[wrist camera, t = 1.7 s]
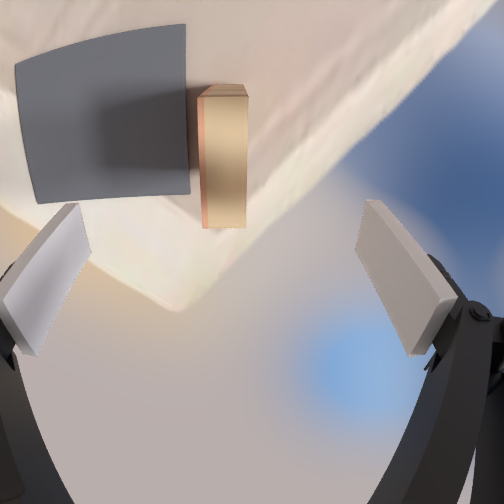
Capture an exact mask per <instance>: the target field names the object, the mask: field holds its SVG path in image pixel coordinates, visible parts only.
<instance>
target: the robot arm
mask: <svg viewBox="0 0 504 504" xmlns="http://www.w3.org/2000/svg"><path fill="white" fill-rule="evenodd" d="M355 251H356V253H357V255H358V257H359V258H360V260H361V262H362V264H363V266H364V268H365V270H366V271H367V273H368V275H369V277H370V279H371V281H372V283H373V285H374V287H375V288H376V291H377V292H378V295H379V297H380V298H381V301H382V302H383V305H384V306H385V308H386V311H387V313H388V315H389V317H390V319H391V321H392V323H393V325H394V327H395V329H396V331H397V334H398V336H399V338H400V340H401V342H402V344H403V347H404V348H405V351H406V353H407V356H408V357H413V356H418V355H423V354H425V353H426V352H427V351H428V349H429V347H430V346H431V344H432V343H433V345H434V347H435V349H436V352H435V353H434V355H433V356H432V358H431V359H430V361H429V362H428V364H427V365H426V367H425V368H424V370H427V369H428V367H429V369H428V372H427V375H426V378H425V381H424V384H423V387H422V389H421V392H420V395H419V398H418V400H417V403H416V406H415V408H414V411H413V413H412V416H411V418H410V420H409V423H408V425H407V428H406V430H405V432H404V434H403V437H402V439H401V441H400V443H399V445H398V448H397V450H396V452H395V454H394V456H393V458H392V460H391V462H390V464H389V466H388V468H387V470H386V472H385V473H384V475H383V477H382V479H381V481H380V483H379V485H378V486H377V488H376V490H375V492H374V494H373V495H372V497H371V499H370V500H369V502H368V503H367V504H457V502H458V499H459V497H460V494H461V491H462V489H463V486H464V483H465V480H466V477H467V474H468V471H469V468H470V465H471V461H472V458H473V454H474V451H475V447H476V456H475V468H474V478H473V486H472V493H471V500H470V504H504V318H500V317H494V316H492V314H491V313H490V311H489V310H488V309H487V308H486V307H485V306H484V305H482V304H481V303H479V302H476V301H468V299H467V298H466V297H465V295H464V294H463V292H462V291H461V290H460V288H459V287H458V286H457V284H456V283H455V281H454V280H453V279H451V276H450V275H449V273H447V272H446V269H445V268H444V267H443V266H442V264H441V263H440V262H439V261H438V260H437V259H435V258H434V257H433V256H431V255H429V254H426V253H425V252H424V251H423V249H422V248H421V247H420V246H419V244H418V243H417V242H416V241H415V239H414V238H413V237H412V236H411V235H410V233H409V232H408V231H407V230H406V229H405V227H404V226H403V225H402V224H401V223H400V222H399V220H398V219H397V218H396V217H395V216H394V215H393V213H392V212H391V211H390V210H389V209H388V208H387V207H386V206H385V204H384V203H383V202H382V201H381V200H368V199H366V202H365V208H364V212H363V217H362V222H361V226H360V230H359V235H358V239H357V243H356V248H355ZM91 253H92V251H91V248H90V244H89V241H88V237H87V234H86V230H85V226H84V222H83V218H82V214H81V210H80V206H79V203H70V204H65V205H64V206H63V207H62V208H61V209H60V210H59V211H58V213H57V214H56V215H55V216H54V217H53V218H52V219H51V220H50V221H49V222H48V223H47V225H46V226H45V227H44V228H43V229H42V230H41V231H40V232H39V234H38V235H37V236H36V237H35V238H34V240H33V241H32V242H31V243H30V244H29V246H28V247H27V248H26V249H25V250H24V252H23V253H22V254H21V255H20V256H19V258H18V259H17V260H16V261H15V262H14V263H13V264H11V265H10V266H9V268H8V269H7V270H6V271H5V273H4V276H2V277H1V278H0V504H74V502H73V500H72V499H71V497H70V495H69V493H68V491H67V490H66V488H65V486H64V484H63V482H62V481H61V478H60V476H59V474H58V472H57V470H56V468H55V466H54V464H53V462H52V459H51V457H50V455H49V453H48V450H47V449H46V446H45V444H44V441H43V439H42V436H41V434H40V431H39V429H38V426H37V423H36V421H35V418H34V415H33V412H32V409H31V406H30V403H29V400H28V397H27V394H26V391H25V387H24V384H23V381H22V377H21V373H20V369H19V365H18V361H17V357H16V355H15V353H14V352H13V348H14V346H15V344H16V345H17V346H18V347H19V349H20V351H21V352H22V353H23V354H26V355H31V356H36V357H37V356H38V354H39V352H40V349H41V347H42V345H43V343H44V341H45V338H46V336H47V334H48V332H49V330H50V328H51V326H52V324H53V322H54V320H55V318H56V316H57V314H58V312H59V310H60V308H61V306H62V304H63V302H64V300H65V298H66V297H67V294H68V293H69V291H70V289H71V287H72V285H73V284H74V282H75V280H76V278H77V277H78V275H79V273H80V271H81V270H82V268H83V266H84V264H85V263H86V261H87V259H88V258H89V256H90V254H91Z"/></svg>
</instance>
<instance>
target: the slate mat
mask: <svg viewBox="0 0 504 504" xmlns="http://www.w3.org/2000/svg"><path fill="white" fill-rule="evenodd" d="M15 69H16V85H17V96H18V106H19V114H20V121H21V128H22V134H23V140H24V146H25V151H26V156H27V161H28V166H29V170H30V175H31V179H32V183H33V187H34V191H35V195H36V199H37V202H38V204H45V203H55V202H66V201H77V200H90V199H104V198H119V197H137V196H158V195H187V194H190V193H191V191H190V175H189V158H188V137H187V110H186V24H178V25H168V26H159V27H152V28H145V29H139V30H133V31H127V32H122V33H117V34H112V35H107V36H103V37H98V38H94V39H90V40H86V41H82V42H79V43H75V44H72V45H68V46H65V47H62V48H58V49H55V50H52V51H49V52H46V53H43V54H41V55H38V56H35V57H32V58H30V59H27V60H24V61H22V62H19V63H17V64H15Z"/></svg>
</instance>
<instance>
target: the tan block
mask: <svg viewBox="0 0 504 504" xmlns="http://www.w3.org/2000/svg"><path fill="white" fill-rule="evenodd" d="M248 98H249V97H248V94H247V92H246V90H245V87H244V85H211V86H210V87H209V88H208V89H207V90H205V91H204V92H203V93H202V94H201V95H200V96H199V97H197V109H198V145H199V169H200V190H201V208H202V224H203V228H246V193H247V143H248Z"/></svg>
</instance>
